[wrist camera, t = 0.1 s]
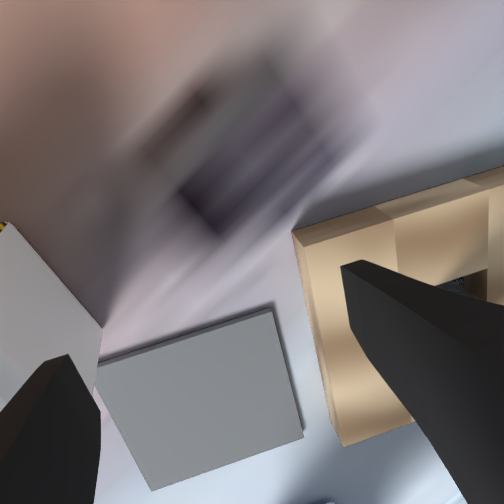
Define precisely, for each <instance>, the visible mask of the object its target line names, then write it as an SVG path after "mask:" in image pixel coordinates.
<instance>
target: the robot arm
mask: <svg viewBox="0 0 504 504" xmlns="http://www.w3.org/2000/svg"><path fill="white" fill-rule="evenodd" d="M340 269H341V276H342V282H343V288H344V294H345V300H346V306H347V312H348V318H349V324H350V329H351V330H352V332H353V334H354V336H355V338H356V339H357V341H358V343H359V345H360V346H361V348H362V350H363V352H364V353H365V355H366V357H367V358H368V360H369V361H370V362H371V364H372V365H373V366H374V368H375V369H376V370H377V372H378V373H379V374H380V376H381V377H382V378H383V380H384V381H385V382H386V383H387V385H388V386H389V387H390V389H391V390H392V391H393V393H394V394H395V395H396V396H397V398H398V399H399V400H400V402H401V403H402V404H403V406H404V407H405V408H406V409H407V411H408V412H409V413H410V415H411V416H412V417H413V419H414V420H415V421H416V422H417V424H418V425H419V427H420V428H421V429H422V431H423V432H424V434H425V435H426V437H427V438H428V439H429V441H430V443H431V444H432V446H433V447H434V449H435V451H436V452H437V454H438V455H439V457H440V459H441V460H442V462H443V464H444V465H445V467H446V468H447V470H448V472H449V473H450V475H451V476H452V478H453V480H454V481H455V483H456V485H457V487H458V488H459V490H460V492H461V493H462V495H463V497H464V498H465V500H466V502H467V503H468V504H504V305H500V304H496V303H491V302H487V301H483V300H479V299H475V298H471V297H468V296H464V295H461V294H458V293H455V292H451V291H448V290H445V289H442V288H439V287H436V286H433V285H430V284H427V283H424V282H421V281H419V280H416V279H413V278H411V277H408V276H405V275H403V274H400V273H398V272H395V271H393V270H390V269H387V268H385V267H382V266H380V265H377V264H374V263H372V262H369V261H366V260H363V259H361V260H357V261H354V262H351V263H348V264H345V265H342V266H340ZM100 451H101V415H100V410H99V408H98V406H97V405H96V403H95V401H94V399H93V397H92V395H91V394H90V392H89V390H88V388H87V386H86V385H85V383H84V381H83V379H82V377H81V376H80V374H79V372H78V370H77V368H76V366H75V365H74V363H73V361H72V359H71V357H70V356H69V354H65V355H62V356H59V357H56V358H53V359H50V360H47V361H44V362H43V363H42V364H41V365H40V366H39V367H38V368H37V369H36V370H35V371H34V373H33V374H32V375H31V376H30V377H29V378H28V380H27V381H26V382H25V383H24V384H23V385H22V387H21V388H20V389H19V390H18V391H17V393H16V394H15V395H14V396H13V397H12V399H11V400H10V401H9V402H8V403H7V405H6V406H5V407H4V408H3V409H2V411H1V412H0V504H93V503H94V496H95V489H96V482H97V474H98V467H99V459H100ZM326 504H335V503H333V502H329V503H326Z"/></svg>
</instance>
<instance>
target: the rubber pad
mask: <svg viewBox="0 0 504 504" xmlns="http://www.w3.org/2000/svg"><path fill="white" fill-rule="evenodd" d="M94 385H95V387H96V389H97V391H98V393H99V395H100V396H101V398H102V400H103V402H104V404H105V406H106V408H107V410H108V411H109V413H110V415H111V417H112V419H113V421H114V423H115V425H116V426H117V428H118V430H119V432H120V434H121V436H122V438H123V439H124V441H125V443H126V445H127V447H128V449H129V451H130V453H131V454H132V456H133V458H134V460H135V462H136V464H137V466H138V468H139V469H140V471H141V473H142V475H143V477H144V479H145V481H146V482H147V484H148V486H149V488H150V490H151V492H152V491H155V490H157V489H160V488H163V487H166V486H169V485H172V484H174V483H177V482H180V481H183V480H186V479H189V478H191V477H194V476H197V475H200V474H203V473H206V472H208V471H211V470H214V469H217V468H220V467H223V466H225V465H228V464H231V463H234V462H237V461H240V460H242V459H245V458H248V457H251V456H254V455H257V454H259V453H262V452H265V451H268V450H271V449H274V448H276V447H279V446H282V445H285V444H288V443H291V442H293V441H296V440H299V439H302V438H304V435H303V431H302V427H301V423H300V419H299V415H298V411H297V408H296V404H295V400H294V396H293V392H292V388H291V384H290V380H289V376H288V372H287V369H286V365H285V361H284V357H283V353H282V349H281V345H280V341H279V337H278V333H277V330H276V326H275V322H274V318H273V314H272V311H271V309H270V308H267V309H264V310H261V311H258V312H255V313H252V314H249V315H246V316H242V317H239V318H236V319H233V320H230V321H227V322H224V323H221V324H218V325H215V326H212V327H208V328H205V329H202V330H199V331H196V332H193V333H190V334H187V335H184V336H181V337H177V338H174V339H171V340H168V341H165V342H162V343H159V344H156V345H153V346H150V347H147V348H143V349H140V350H137V351H134V352H131V353H128V354H125V355H122V356H119V357H116V358H112V359H109V360H106V361H103V362H100V363H98V365H97V371H96V377H95V383H94Z"/></svg>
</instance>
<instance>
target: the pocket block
mask: <svg viewBox="0 0 504 504" xmlns="http://www.w3.org/2000/svg"><path fill="white" fill-rule="evenodd" d="M291 233H292V238H293V242H294V247H295V252H296V257H297V261H298V266H299V271H300V276H301V281H302V285H303V290H304V295H305V300H306V304H307V309H308V314H309V319H310V323H311V328H312V333H313V338H314V342H315V347H316V352H317V357H318V362H319V366H320V371H321V376H322V381H323V385H324V390H325V395H326V400H327V404H328V409H329V414H330V419H331V423H332V425H333V427H334V429H335V431H336V433H337V435H338V437H339V439H340V441H341V443H342V445H343V447H346V446H349V445H352V444H355V443H357V442H360V441H363V440H366V439H368V438H371V437H374V436H377V435H380V434H382V433H385V432H388V431H391V430H394V429H396V428H399V427H402V426H405V425H408V424H410V423H413V422H416V421H415V420H414V419H413V417H412V416H411V415H410V413H409V412H408V411H407V409H406V408H405V407H404V406H403V404H402V403H401V402H400V400H399V399H398V398H397V396H396V395H395V394H394V393H393V391H392V390H391V389H390V387H389V386H388V385H387V383H386V382H385V381H384V380H383V378H382V377H381V376H380V374H379V373H378V372H377V370H376V369H375V368H374V366H373V365H372V364H371V362H370V361H369V360H368V358H367V357H366V355H365V353H364V352H363V350H362V348H361V346H360V345H359V343H358V341H357V339H356V338H355V336H354V334H353V332H352V330H351V329H350V324H349V318H348V312H347V306H346V300H345V294H344V288H343V282H342V276H341V269H340V266H342V265H345V264H348V263H351V262H354V261H357V260H361V259H363V260H366V261H369V262H372V263H374V264H377V265H380V266H382V267H385V268H387V269H390V270H393V271H395V272H398V273H400V274H403V275H405V276H408V277H411V278H413V279H416V280H419V281H421V282H424V283H427V284H430V285H433V286H436V285H439V284H442V283H445V282H448V281H451V280H454V279H457V278H460V277H463V276H464V288H465V289H467V290H468V291H469V292H471V293H472V294H473V295H474V296H476V297H477V298H478V299H480V300H483V301H487V302H491V303H496V304H500V305H504V166H502V167H499V168H495V169H492V170H489V171H486V172H482V173H479V174H476V175H473V176H469V177H466V178H463V179H460V180H456V181H453V182H450V183H447V184H443V185H440V186H437V187H434V188H430V189H427V190H424V191H421V192H417V193H414V194H411V195H408V196H404V197H401V198H398V199H395V200H391V201H388V202H385V203H382V204H379V205H375V206H372V207H369V208H366V209H362V210H359V211H356V212H353V213H349V214H346V215H343V216H340V217H336V218H333V219H330V220H327V221H323V222H320V223H317V224H314V225H310V226H307V227H304V228H301V229H297V230H294V231H291Z"/></svg>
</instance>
